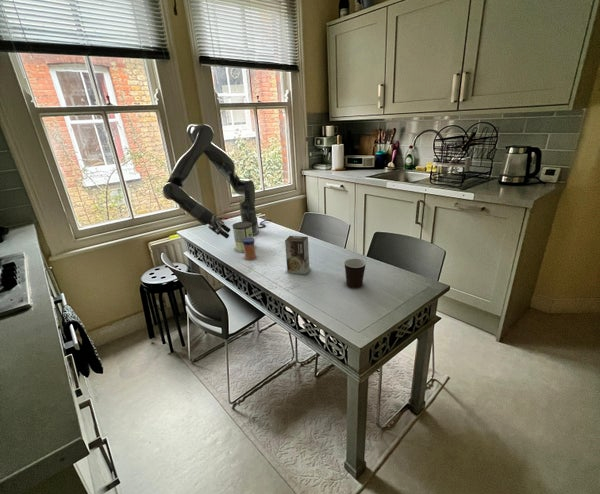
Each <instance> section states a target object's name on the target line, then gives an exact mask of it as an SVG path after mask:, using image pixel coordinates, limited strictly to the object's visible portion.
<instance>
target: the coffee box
mask: <svg viewBox="0 0 600 494" xmlns="http://www.w3.org/2000/svg"><path fill="white" fill-rule="evenodd" d="M284 245H285V258H286V270H287V274H298V275H307V273H308V272H309V270H310V254H309V252H310V251H309V236H304V235H303V236H302V235H301V236H300V235H289V236H288V237H287V238H285V240H284Z"/></svg>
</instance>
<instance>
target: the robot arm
mask: <svg viewBox="0 0 600 494" xmlns="http://www.w3.org/2000/svg"><path fill="white" fill-rule="evenodd" d="M214 133H215V132H214V130H213V128H212V126H210V125H208V124H205V123H190V124H189V125H188V126H187V128H186V135H187V137H188V139H189V141H190V142H191V143H192V146H191V147H190V148H189V149H188V150H187V151H186V152H185V153H183V155H181V156H180V158H179V159H178V160H177V162H176V163H175V165H174V167H173V169H172V171H171V173H170V176H169V177H168V180H167V181H166V183H165V184H164V185H163V186H162V191H161V192H162V193H161V194H162V196H163V197H164V198H165V199H166V200H169V201H173V202H174V203H176V204H177V205H178V206H179V208H180V209H182V210H183V211H184V212H186V213H187V214H189V215H190V216H191V217H192V218H193V219H194V220H196V221H197V222H198V223H200V224H201V225H203V226H206V225H208V227H207V228H208V229H209V230H211V231H212V232H214V233H215V234H216V235H217V236H219V235H221V236H222V237H223V238H224V239H226V240H227V239H228V238H229V237H230V234H229V233H230V232H231V228H230V227H228V225H226V224H225V222H224V221H223V220H222V219H220V218H219V217H217V216H216V215H215V213H214V212H213V211H212V210H210V209H209V208H207V207H206V206H205V205H203V203H200V202H199V201H197V200H196V199H195V198H193V197H192V196H190V195H189V194H188V193H187V192H186V191H185V190H184V189H183V186H184V184H185V182H186V181H187V179H188V178H189V176H190V174H191V172H192V170H193V168H194V167H195V165H196V164H197V162H198V161H199V160H200V158H201V156H203V154H204V156H206V158H207V159H208V160H209V161H210V163H211V164H212V165H213V166H214V167H215V168H216V169H217V171H218V172H219V173H220V174H221V175H222V176H223V177H224V179H225V180H226V181H227V182H228V183H229V185H230V187H231V188H232V189H233V191H234V193H236V194H237V195H240V196H244V199H243V200H241V201H239V204H238V205H239V214H240V220H241V221H240V222H251V223H252V232H253V236H255V235H257V234H258V233H259V229H263V228H265V227H266V224H265V223H264V222H268V221H269V222H272V219H264V220H261V221H260V223H258V216H257V212H256V204H255V203H256V187H255V183H254V181H253V180H252V179H248V178H247V179H245V178H240V176H238V174H236V165H235V162H234V161H233V160H232V158H231V157H230V156H229V154H228V153H227V152H225V151H224V150H222V148H220V147H218V146H217V145H215V144H214V143H213V140H214V135H215V134H214ZM259 225H261V226H259Z"/></svg>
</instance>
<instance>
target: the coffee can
mask: <svg viewBox="0 0 600 494" xmlns="http://www.w3.org/2000/svg"><path fill="white" fill-rule="evenodd" d="M232 231H233V239H234V244H235V245H234V246H235V251H236V252H238V253H245V252H244V245H243V239H245V238H254V235H253V232H252V223H251V222H241V221H238V222H234V223H233V224H232Z"/></svg>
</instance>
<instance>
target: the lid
mask: <svg viewBox="0 0 600 494" xmlns="http://www.w3.org/2000/svg"><path fill="white" fill-rule="evenodd" d="M243 244H244V245H251V244H254V245H255V238H254V237H253V238H245V239H243Z"/></svg>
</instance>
